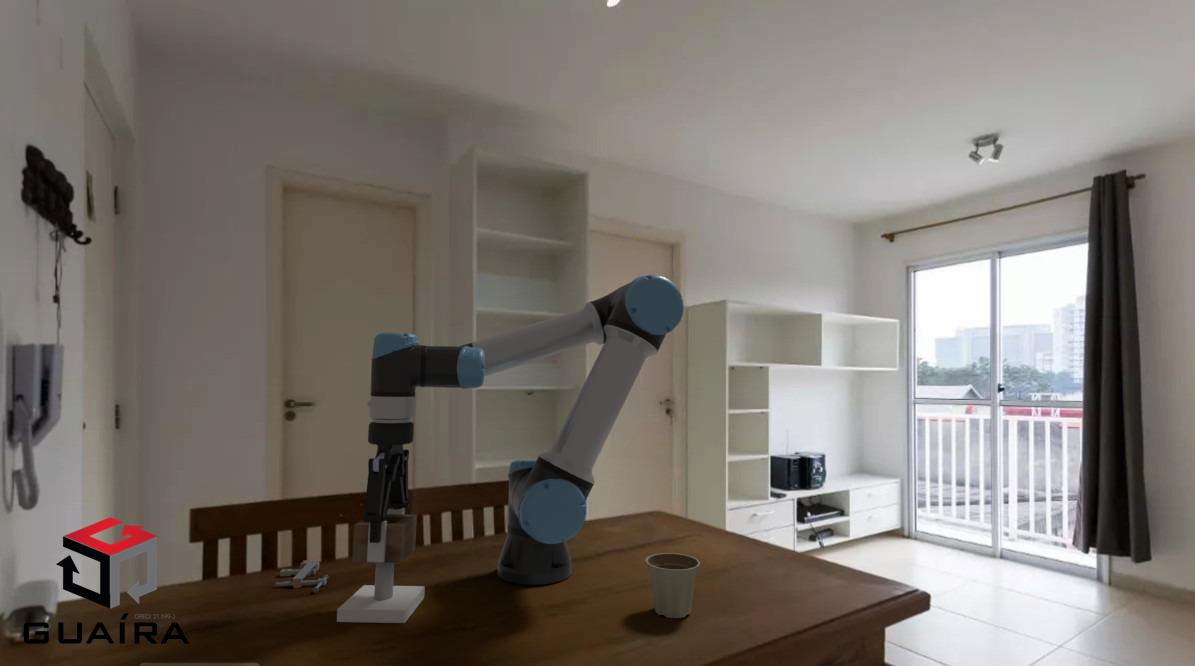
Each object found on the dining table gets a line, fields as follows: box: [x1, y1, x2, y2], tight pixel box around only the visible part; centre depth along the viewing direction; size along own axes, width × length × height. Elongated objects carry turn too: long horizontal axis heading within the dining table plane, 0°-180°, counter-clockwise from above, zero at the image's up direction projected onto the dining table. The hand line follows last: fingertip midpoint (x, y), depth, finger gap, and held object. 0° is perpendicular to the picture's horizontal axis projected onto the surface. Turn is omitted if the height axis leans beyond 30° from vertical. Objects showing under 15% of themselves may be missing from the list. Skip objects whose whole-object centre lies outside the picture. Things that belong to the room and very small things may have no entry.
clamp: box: [275, 559, 329, 593], centre depth 113 cm, size 15×2×10 cm
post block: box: [336, 562, 426, 624], centre depth 100 cm, size 11×11×10 cm
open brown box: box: [351, 513, 418, 564], centre depth 101 cm, size 8×8×6 cm
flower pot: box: [645, 552, 701, 619], centre depth 102 cm, size 9×9×9 cm
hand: (385, 553), depth 101 cm, fingers closed on open brown box, 8 cm apart
